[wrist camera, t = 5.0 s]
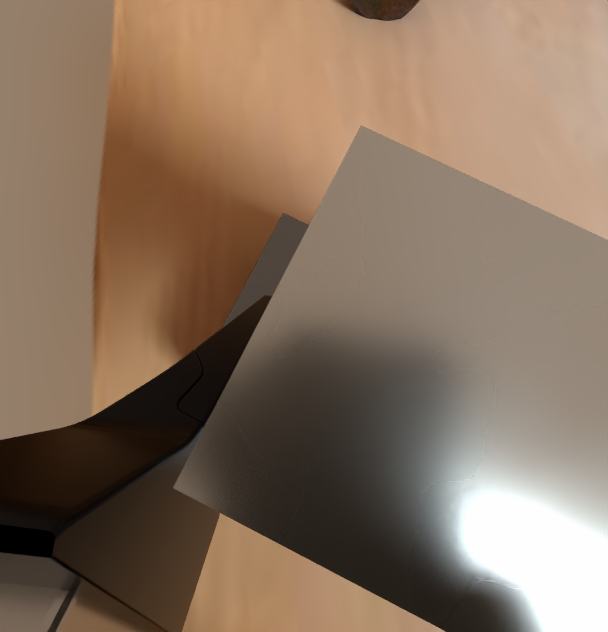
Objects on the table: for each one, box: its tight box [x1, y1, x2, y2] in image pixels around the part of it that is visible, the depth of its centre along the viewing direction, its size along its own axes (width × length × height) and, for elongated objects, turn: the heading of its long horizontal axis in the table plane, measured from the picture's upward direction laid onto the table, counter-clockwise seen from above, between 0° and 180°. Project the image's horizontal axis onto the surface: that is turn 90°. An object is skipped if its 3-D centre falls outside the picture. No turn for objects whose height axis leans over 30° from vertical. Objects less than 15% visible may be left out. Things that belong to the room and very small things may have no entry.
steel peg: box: [173, 126, 608, 632], centre depth 10 cm, size 4×4×14 cm
